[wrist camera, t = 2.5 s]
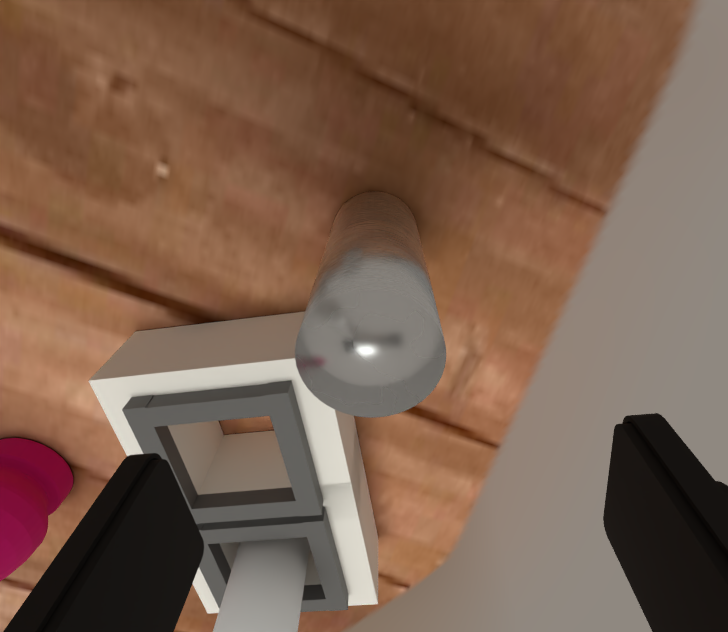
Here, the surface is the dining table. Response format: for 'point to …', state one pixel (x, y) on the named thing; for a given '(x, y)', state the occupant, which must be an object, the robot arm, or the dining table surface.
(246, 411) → the socket block
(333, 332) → the peg
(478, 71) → the dining table surface
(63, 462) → the pepper mill
